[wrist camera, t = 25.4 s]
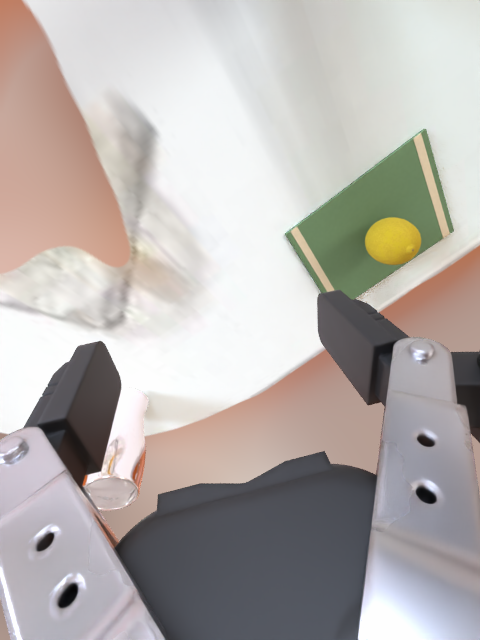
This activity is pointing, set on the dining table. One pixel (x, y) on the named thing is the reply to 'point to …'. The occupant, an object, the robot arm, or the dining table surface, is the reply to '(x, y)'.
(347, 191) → the cloth
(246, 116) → the dining table surface
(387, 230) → the lemon
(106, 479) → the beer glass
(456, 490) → the robot arm
